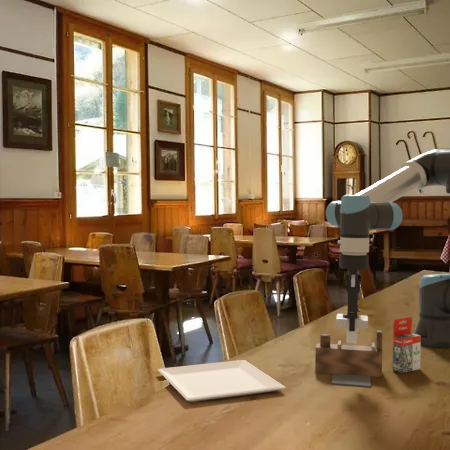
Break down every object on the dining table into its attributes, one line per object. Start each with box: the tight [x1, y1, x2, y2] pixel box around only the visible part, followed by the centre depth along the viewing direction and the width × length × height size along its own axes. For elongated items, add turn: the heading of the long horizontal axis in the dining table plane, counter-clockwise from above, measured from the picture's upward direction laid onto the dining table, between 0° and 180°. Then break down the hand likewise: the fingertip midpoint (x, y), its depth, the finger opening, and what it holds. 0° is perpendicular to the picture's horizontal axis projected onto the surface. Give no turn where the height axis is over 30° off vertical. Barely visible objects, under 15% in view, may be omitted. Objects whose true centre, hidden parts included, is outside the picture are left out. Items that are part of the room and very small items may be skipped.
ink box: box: [391, 316, 422, 374], centre depth 174 cm, size 4×8×15 cm, turn 124°
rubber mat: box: [331, 373, 372, 388], centre depth 164 cm, size 10×8×1 cm
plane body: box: [314, 329, 383, 378], centre depth 172 cm, size 18×5×12 cm, turn 77°
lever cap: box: [335, 313, 369, 329], centre depth 163 cm, size 8×7×3 cm
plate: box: [157, 359, 286, 402], centre depth 161 cm, size 26×26×2 cm
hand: (351, 339), depth 163 cm, fingers closed on lever cap, 7 cm apart
